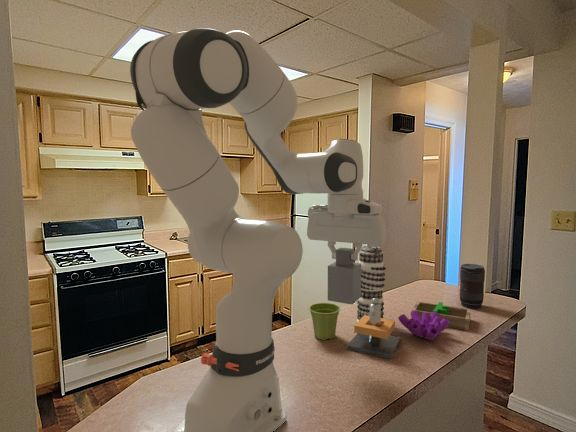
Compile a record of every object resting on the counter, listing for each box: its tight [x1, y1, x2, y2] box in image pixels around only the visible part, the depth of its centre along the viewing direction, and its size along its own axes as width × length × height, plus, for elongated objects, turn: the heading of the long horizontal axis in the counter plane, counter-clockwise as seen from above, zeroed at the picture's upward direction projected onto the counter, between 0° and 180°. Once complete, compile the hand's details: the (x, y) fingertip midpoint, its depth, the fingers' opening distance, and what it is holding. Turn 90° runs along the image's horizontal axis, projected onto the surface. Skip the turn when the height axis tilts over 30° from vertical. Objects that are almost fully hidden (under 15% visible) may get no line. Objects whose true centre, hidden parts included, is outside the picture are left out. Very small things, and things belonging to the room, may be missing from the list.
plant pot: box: [308, 302, 341, 341], centre depth 109 cm, size 9×9×9 cm
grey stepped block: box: [327, 247, 361, 305], centre depth 94 cm, size 7×7×13 cm
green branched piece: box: [433, 301, 450, 315], centre depth 121 cm, size 10×4×4 cm, turn 147°
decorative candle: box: [356, 245, 387, 323], centre depth 118 cm, size 9×9×25 cm
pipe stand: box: [346, 298, 402, 360], centre depth 102 cm, size 12×12×14 cm
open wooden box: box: [410, 301, 472, 331], centre depth 121 cm, size 10×17×4 cm, turn 61°
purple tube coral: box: [398, 310, 450, 340], centre depth 109 cm, size 11×15×10 cm
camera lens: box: [459, 263, 486, 310], centre depth 134 cm, size 8×8×15 cm
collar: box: [353, 315, 396, 339], centre depth 102 cm, size 9×9×2 cm
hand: (344, 259), depth 93 cm, fingers closed on grey stepped block, 3 cm apart
